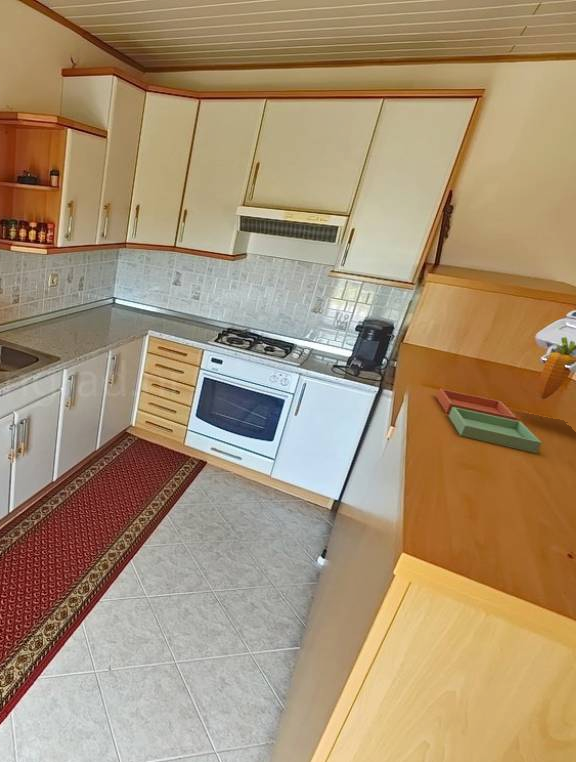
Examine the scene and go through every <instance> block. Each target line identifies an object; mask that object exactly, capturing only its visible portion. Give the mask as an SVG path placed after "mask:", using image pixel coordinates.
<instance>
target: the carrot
mask: <svg viewBox="0 0 576 762" xmlns="http://www.w3.org/2000/svg"><path fill="white" fill-rule="evenodd" d="M561 340H562V345H563V349H562V347H561V346H560V345H557V347H558V348H559V350H560V351H561V353H559V352H554V353H551V354H550V355H549V356H548V358H547V360H546V363H544V365H543V368H542V371H541V373H540V378H539V383H538V384H539V388H538V389H539V390H538V391H539V395H540V398H541V399H542V400H546V399H547V398H549V397H550V396H552V395H553V394H555V393H556V392H557V391H558V390H559V389H560V388H561V387H562V385H563V384H564V383H565V382H566V380H567V379H568V377H569V375H570V374H571V372H569V371H567V370H566V368H565V366H566V365H567V364H569V363H570V362H576V358H575V357H574V356H572V355H569V354H570V353H571V352H572V351H573V350H575V349H576V345H575V342H573V341H570V346H569V349H568V341H567V338H566V337H563V338H561ZM567 350H568V351H567Z"/></svg>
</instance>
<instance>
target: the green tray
mask: <svg viewBox="0 0 576 762" xmlns="http://www.w3.org/2000/svg"><path fill="white" fill-rule="evenodd" d="M448 418H449V419H450V421H451V422H452V424H453V426H454V427H455V429H456V431H457V432H458V434H459V435H460V436H461V437H465V438H468V439H473V440H477V441H480V442H486V443H490V444H494V445H498V446H502V447H507V448H510V449H511V448H512V449H515V450H520V451H525V452H528V453H532V454H538V451H539V449H540V448H541V445H542V441H541V440H540V439H539V438H538V437H537V436H536V435H535V434H534V433H533V432H532V431H531V430H530V429H529V428H528V427H527V426H526V425H525V424H524V423H523V421H521V420H520V421H519V420H517V419H516V420H511V419H506V418H502V417H497V416H492V415H488V414H483V413H478V412H474V411H469V410H465V409H460V408H455V407H452V409H451V412H450V414H448Z"/></svg>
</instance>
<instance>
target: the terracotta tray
mask: <svg viewBox="0 0 576 762" xmlns="http://www.w3.org/2000/svg"><path fill="white" fill-rule="evenodd" d="M436 399H437V401H438V402H439V404H440V405H441V407H442V409H443V410H444V412H445V413H446V414H448V415H450V412H451V409H452V407H455V408H460V409H465V410H469V411H474V412H478V413H483V414H488V415H492V416H497V417H502V418H506V419H511V420H516V421H517V419H518V417H517V416H516V415H515V414H514V413H513V412H512V411H511V410H510V409H509V408H508V407H507V406H506V405H505V404H504V403H503V402H502V401H501V400H498V399H492V398H487V397H482V396H477V395H472V394H468V393H463V392H458V391H454V390H448V389H444V388H439V390H438V392H437V395H436Z"/></svg>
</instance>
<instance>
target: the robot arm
mask: <svg viewBox="0 0 576 762" xmlns="http://www.w3.org/2000/svg"><path fill="white" fill-rule="evenodd" d="M563 337H566V338H567V341H568V349H569V346H570V341H573V342H575V345H576V309H575V310H574V309H573V310H571V311H569V312H567V314H566V318H560V319H558V320H556V321H554V322H552V323H550V324H548V325H547V326H545V327H544V328H543V329H541V330H539V331H538V332H536V334H535V337H534V339H535V342H536V344H537V346H538V347H539V348H541V349H545V350H547V351H546V354H544V355H543V356H541V357H540V363H542V364H545V363H546V360H547V358H548V356H549V355H550V354H551V353H554V352H559V353H561V351H560V350H559V348H558V347H557V345H560V346H561V347H562V349H563V345H562V340H561V338H563ZM567 351H568V350H567ZM569 355H572V356H574V357H575V359H576V349H575V350H573V351H572V352H571V353H570V354H569ZM565 368H566V370H567V371H569V372H570V373H573V374H575V373H576V362H570V363H569V364H567V365H566V366H565Z"/></svg>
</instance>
